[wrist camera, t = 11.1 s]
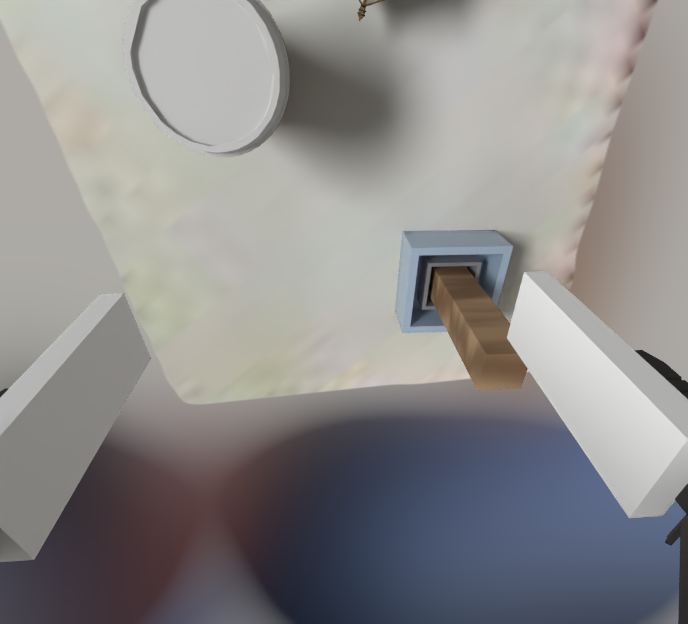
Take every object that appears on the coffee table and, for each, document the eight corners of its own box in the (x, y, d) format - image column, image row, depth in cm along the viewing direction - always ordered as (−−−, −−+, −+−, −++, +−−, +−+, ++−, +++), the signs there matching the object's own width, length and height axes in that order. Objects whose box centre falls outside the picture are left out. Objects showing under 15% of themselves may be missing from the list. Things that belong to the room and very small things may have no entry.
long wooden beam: (430, 262, 41) (486, 354, 27) (462, 261, 41) (533, 353, 27) (426, 290, 43) (477, 389, 29) (456, 289, 43) (520, 388, 29)
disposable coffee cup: (252, -30, 28) (214, -91, 18) (319, 97, 32) (319, 107, 22) (155, 46, 30) (72, 31, 20) (231, 156, 35) (196, 189, 24)
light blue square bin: (402, 231, 39) (411, 247, 36) (494, 230, 40) (513, 246, 36) (395, 311, 45) (402, 332, 41) (476, 309, 45) (490, 330, 42)
